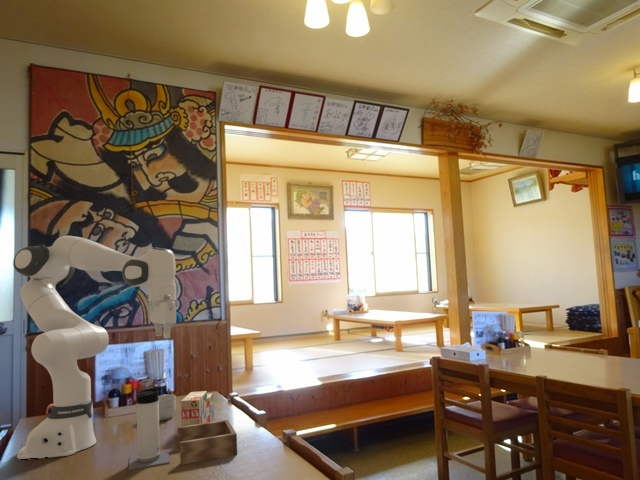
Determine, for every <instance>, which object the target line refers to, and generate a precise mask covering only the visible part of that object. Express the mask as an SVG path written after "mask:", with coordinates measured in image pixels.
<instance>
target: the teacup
mask: <svg viewBox="0 0 640 480" xmlns="http://www.w3.org/2000/svg"><path fill="white" fill-rule="evenodd" d="M158 398H159V421H165V420H168V419H170V418H172V417H173V415H174V414H175V413H176V410H177V402H176V401H177V400H176V399H177V398H176V394H175V395H174V394H162V395H158Z"/></svg>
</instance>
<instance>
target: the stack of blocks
mask: <svg viewBox="0 0 640 480" xmlns="http://www.w3.org/2000/svg"><path fill="white" fill-rule="evenodd" d="M180 403H181V405H180V406H181V408H180V409H181V411H180V413H181V427H183V426H189V425H196V424H202V423H209V422H212V420H213V419H214V412H215V411H214V394H213V393H212V392H211V393H208V391H206V390H203V391H202V390H201V391H191V392H189V393H188V394H187V395H186V396H184V398H183V399H181V402H180Z"/></svg>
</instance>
